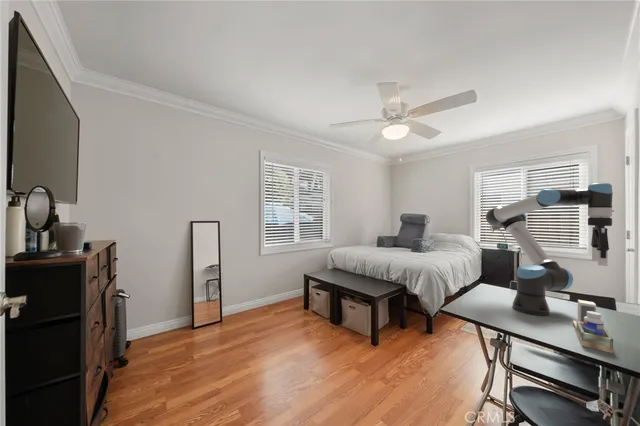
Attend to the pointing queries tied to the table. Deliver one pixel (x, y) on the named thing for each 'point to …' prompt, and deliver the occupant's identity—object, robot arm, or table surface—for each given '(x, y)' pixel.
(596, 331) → the pill bottle
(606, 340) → the tray
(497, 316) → the table surface
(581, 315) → the white upright block
